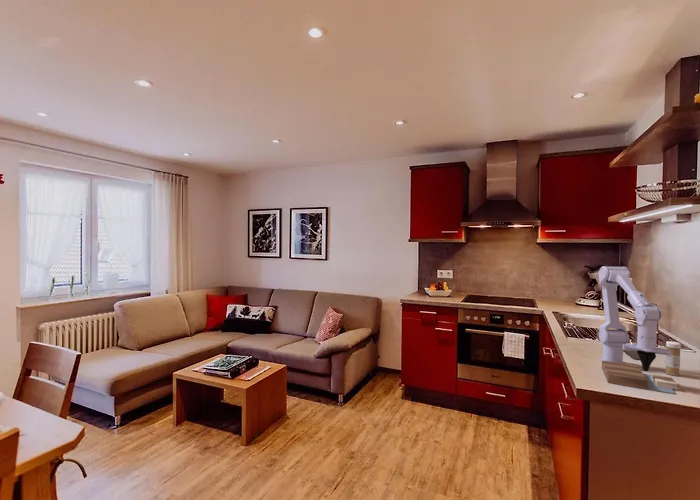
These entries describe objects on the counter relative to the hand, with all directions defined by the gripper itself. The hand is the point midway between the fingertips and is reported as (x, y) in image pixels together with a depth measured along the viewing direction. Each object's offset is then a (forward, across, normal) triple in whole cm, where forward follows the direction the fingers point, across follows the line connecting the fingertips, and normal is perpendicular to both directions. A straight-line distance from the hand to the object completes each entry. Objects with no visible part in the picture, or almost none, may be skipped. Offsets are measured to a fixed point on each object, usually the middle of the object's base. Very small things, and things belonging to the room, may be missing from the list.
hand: (645, 370), depth 139 cm
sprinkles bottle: (+5, +12, +16) cm, 21 cm away
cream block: (+2, +6, 0) cm, 6 cm away
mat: (+4, +3, 0) cm, 6 cm away
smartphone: (+5, +4, +38) cm, 39 cm away
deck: (+4, -7, 0) cm, 8 cm away
